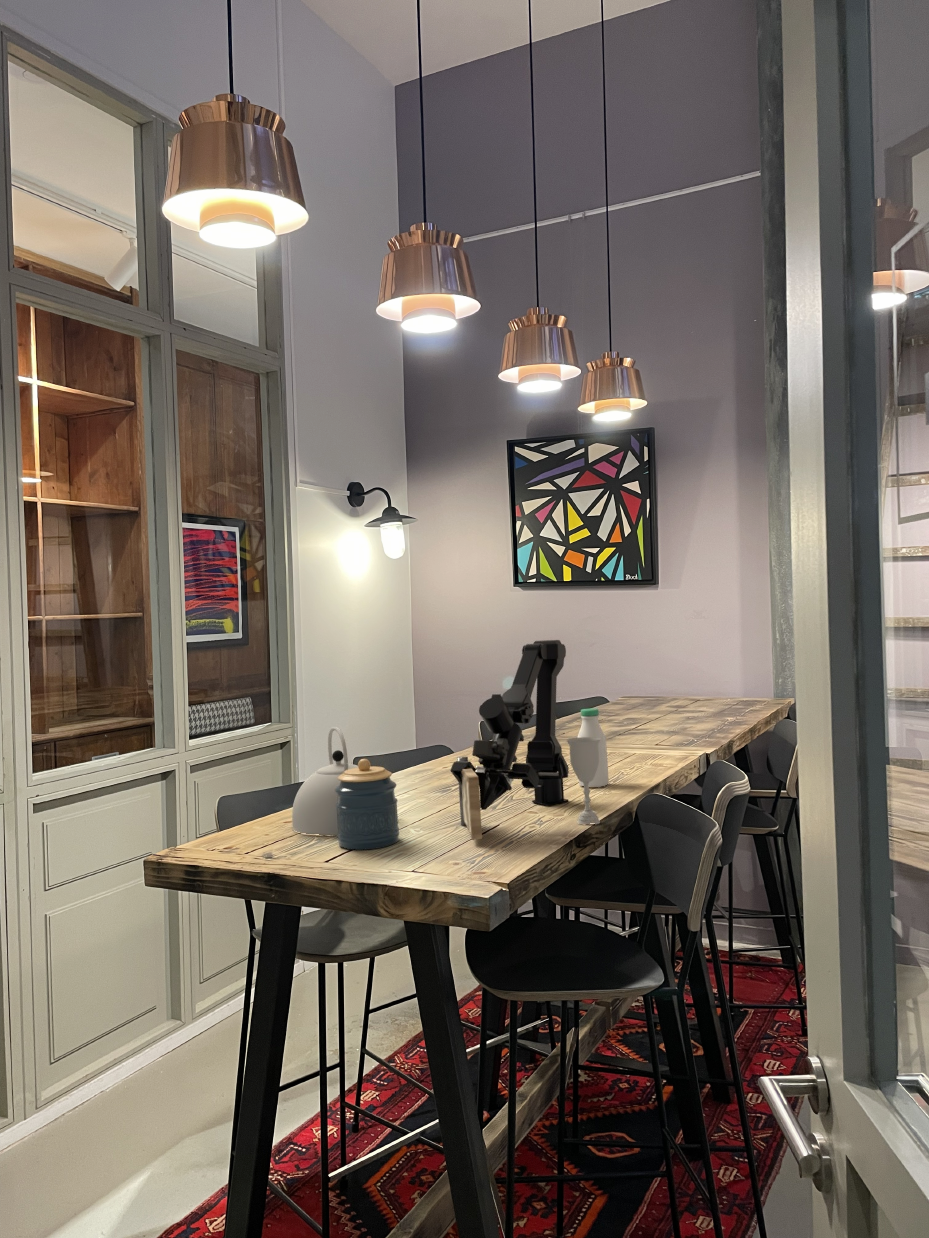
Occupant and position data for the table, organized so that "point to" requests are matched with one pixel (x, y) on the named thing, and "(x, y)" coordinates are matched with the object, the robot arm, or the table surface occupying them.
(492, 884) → the table surface
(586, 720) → the milk bottle
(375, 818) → the canister
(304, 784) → the kettle
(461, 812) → the hinge post
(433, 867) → the table surface
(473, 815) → the gate
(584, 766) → the chalice
